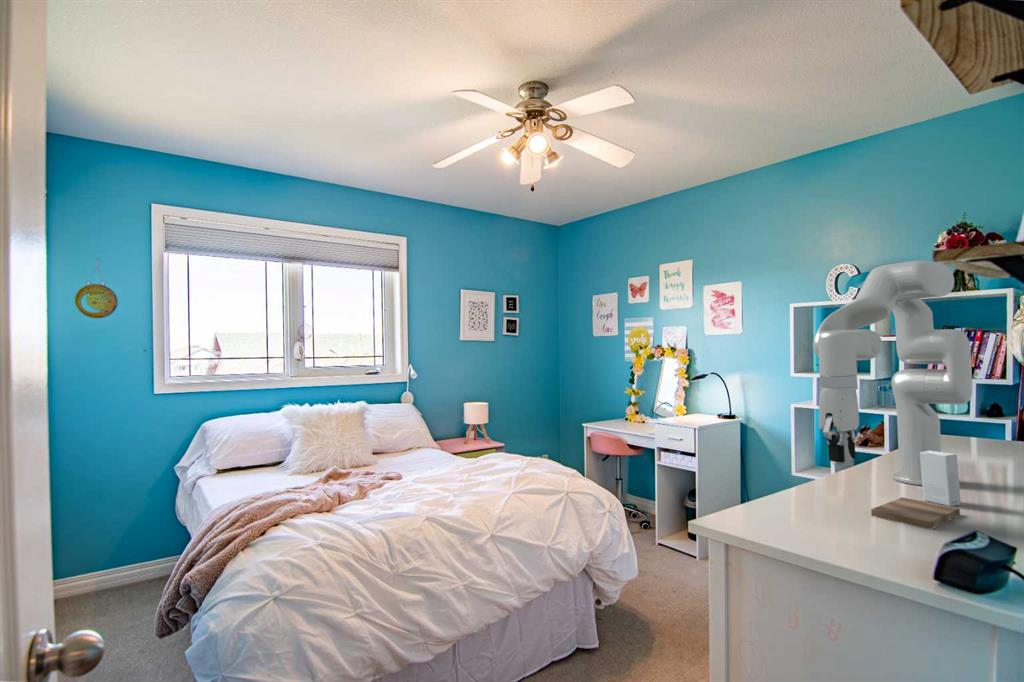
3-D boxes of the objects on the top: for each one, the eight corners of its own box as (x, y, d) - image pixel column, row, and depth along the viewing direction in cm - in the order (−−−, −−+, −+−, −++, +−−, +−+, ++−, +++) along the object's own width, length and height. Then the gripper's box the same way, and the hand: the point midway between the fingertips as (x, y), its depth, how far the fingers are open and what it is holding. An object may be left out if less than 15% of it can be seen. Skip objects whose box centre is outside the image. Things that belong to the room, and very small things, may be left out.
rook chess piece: (857, 467, 119) (855, 432, 120) (836, 467, 120) (834, 433, 120) (848, 462, 124) (847, 429, 124) (828, 462, 125) (826, 429, 125)
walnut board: (902, 503, 125) (902, 497, 125) (959, 514, 116) (959, 508, 116) (871, 515, 116) (871, 509, 116) (930, 529, 107) (930, 522, 107)
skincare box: (961, 504, 123) (959, 454, 123) (949, 507, 121) (947, 455, 122) (933, 498, 129) (930, 449, 129) (921, 500, 127) (919, 451, 127)
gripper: (839, 379, 130) (843, 452, 130) (803, 385, 121) (807, 462, 121) (872, 380, 124) (876, 457, 123) (837, 386, 115) (841, 468, 114)
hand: (842, 459), depth 122 cm, fingers closed on rook chess piece, 4 cm apart
